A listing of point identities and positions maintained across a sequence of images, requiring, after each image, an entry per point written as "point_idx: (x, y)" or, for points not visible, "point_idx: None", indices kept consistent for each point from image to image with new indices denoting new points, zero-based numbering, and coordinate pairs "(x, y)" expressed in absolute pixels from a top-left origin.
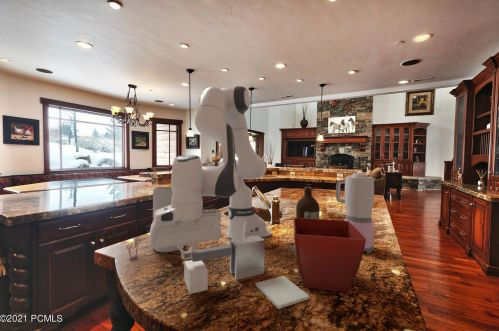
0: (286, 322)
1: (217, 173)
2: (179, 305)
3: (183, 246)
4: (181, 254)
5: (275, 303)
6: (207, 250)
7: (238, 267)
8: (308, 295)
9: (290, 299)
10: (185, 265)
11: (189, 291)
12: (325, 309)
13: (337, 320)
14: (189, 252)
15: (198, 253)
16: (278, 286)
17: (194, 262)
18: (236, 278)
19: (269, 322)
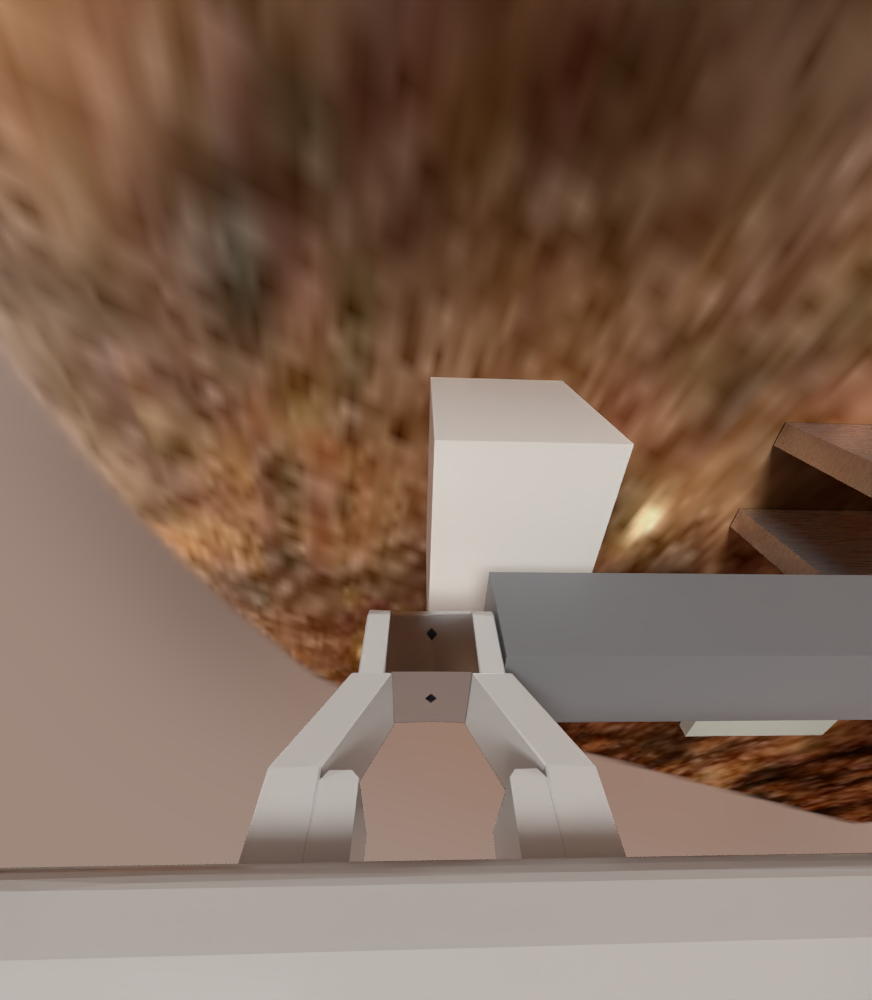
0: (644, 757)
1: None
2: (358, 603)
3: (361, 859)
4: (363, 646)
5: (691, 723)
6: (696, 702)
7: None
8: (823, 732)
9: (751, 729)
10: (432, 489)
11: (426, 542)
12: (785, 758)
13: (755, 783)
14: (459, 716)
15: (559, 716)
16: None
17: (527, 510)
18: (739, 532)
19: (605, 747)
